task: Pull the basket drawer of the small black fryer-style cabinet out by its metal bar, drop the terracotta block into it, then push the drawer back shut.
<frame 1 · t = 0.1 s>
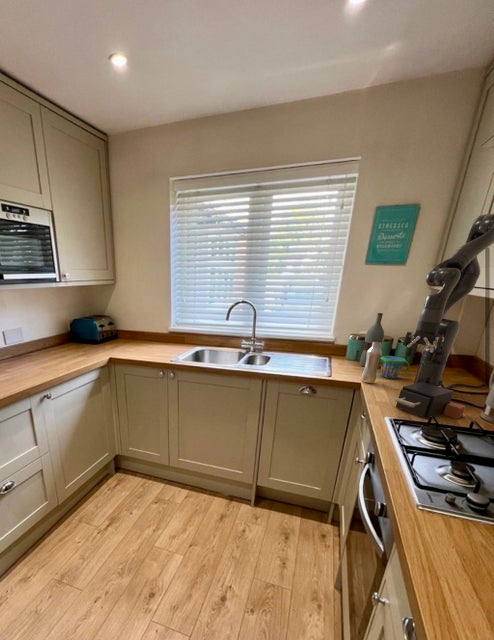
hand: (418, 358, 141), 17 cm above the countertop, tool pointing down, fingers open, 8 cm apart
block: (452, 415, 128), on the countertop
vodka: (367, 365, 193), on the countertop
drawer: (416, 401, 129), point 5 cm above the countertop, slide at 1.0 cm
snack cup: (388, 377, 173), on the countertop
cabinet: (421, 409, 133), on the countertop
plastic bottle: (367, 382, 164), on the countertop
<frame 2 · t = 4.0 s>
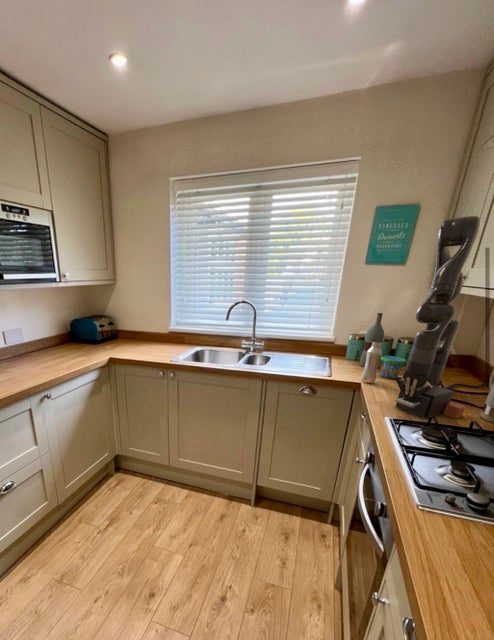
hand: (407, 404, 126), 5 cm above the countertop, tool pointing down, fingers closed
nothing on the countertop moved.
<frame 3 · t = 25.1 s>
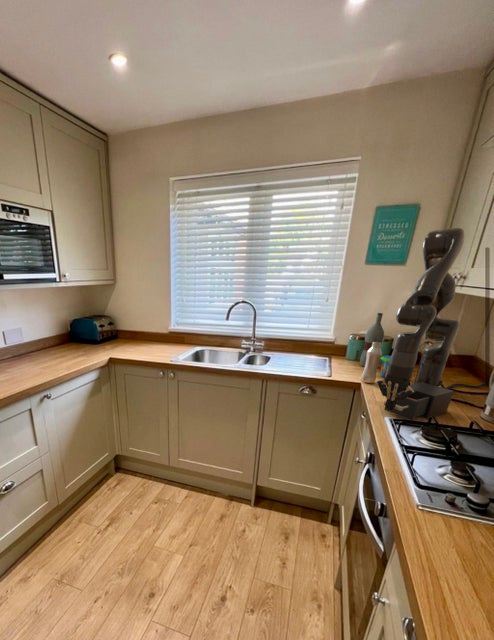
hand: (389, 409, 121), 5 cm above the countertop, tool pointing down, fingers closed
block: (406, 410, 127), point 2 cm above the countertop, touching drawer
drawer: (405, 404, 125), point 5 cm above the countertop, slide at 8.6 cm, touching block, gripper
everything else where it was.
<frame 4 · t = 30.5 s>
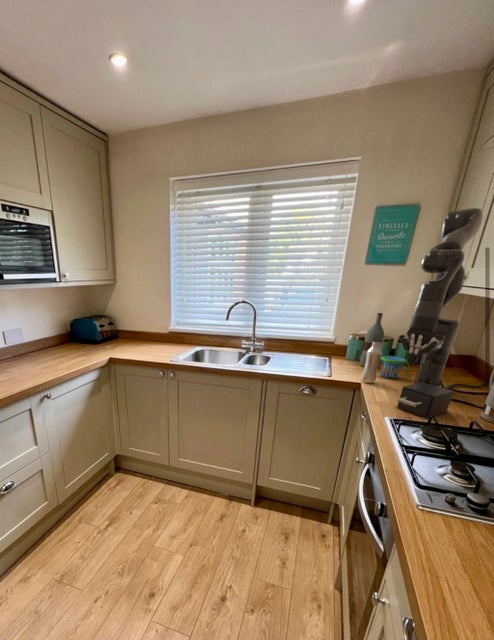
hand: (411, 363, 117), 21 cm above the countertop, tool pointing down, fingers closed
block: (418, 406, 131), point 2 cm above the countertop, touching drawer
drawer: (418, 401, 129), point 5 cm above the countertop, slide at 0.0 cm, touching block, cabinet
everything else where it was.
at the end: drawer pulled out 8.6 cm at the most during the clip, back to where it started at the end; block inside the target area in the cabinet (2.9 cm from its centre), point 2.0 cm above the cabinet's base; drawer slide at 0.0 cm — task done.
